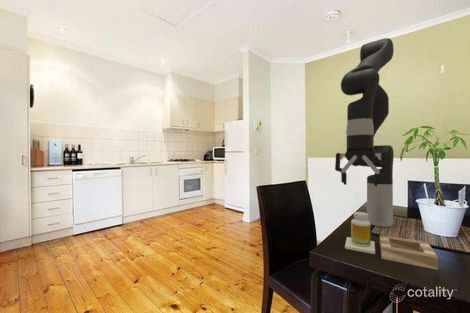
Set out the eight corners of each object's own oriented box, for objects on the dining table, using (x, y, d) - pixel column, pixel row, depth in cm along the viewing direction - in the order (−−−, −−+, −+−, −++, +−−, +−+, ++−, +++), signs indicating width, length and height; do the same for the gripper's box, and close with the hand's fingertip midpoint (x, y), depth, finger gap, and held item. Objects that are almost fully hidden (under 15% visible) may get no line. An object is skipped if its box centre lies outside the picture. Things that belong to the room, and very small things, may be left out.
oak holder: (379, 244, 73) (379, 235, 73) (427, 252, 67) (427, 242, 67) (381, 258, 63) (381, 248, 63) (438, 269, 57) (438, 258, 57)
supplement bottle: (373, 247, 68) (373, 216, 68) (353, 246, 69) (354, 215, 69) (366, 241, 73) (367, 211, 73) (349, 239, 75) (349, 210, 75)
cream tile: (347, 239, 77) (347, 236, 77) (374, 243, 73) (374, 241, 73) (344, 248, 70) (344, 246, 70) (375, 254, 66) (375, 251, 66)
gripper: (385, 134, 71) (385, 185, 71) (336, 136, 78) (336, 182, 78) (387, 132, 64) (387, 188, 65) (333, 134, 72) (334, 185, 72)
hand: (359, 185), depth 71 cm, fingers open, 8 cm apart
